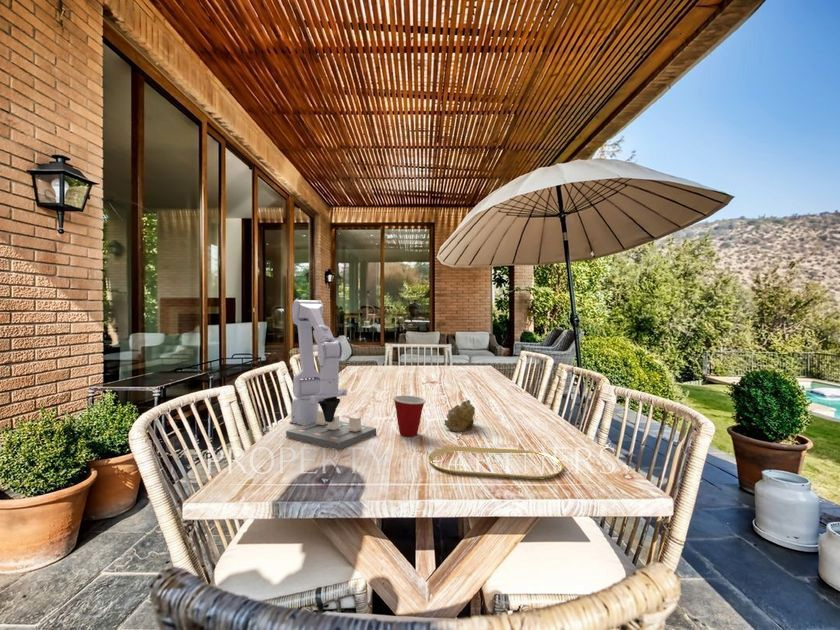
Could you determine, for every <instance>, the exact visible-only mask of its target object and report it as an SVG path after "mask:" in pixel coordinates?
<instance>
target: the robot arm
mask: <svg viewBox="0 0 840 630" xmlns="http://www.w3.org/2000/svg"><path fill="white" fill-rule="evenodd" d="M323 313H324V304H323V302H322V301H321V300H320V299H317V300H309V299H305V300H304V299H294V301H293V302H292V307H291V314H292V315H291V316H292V317H291V318H292V323H293V324H294V325H296V327H297V332H298V346H299V348H298V349H299V362H300V371H299V372H297V373H296V374H295V375H294V376H293V379H292V381H293V384H292V392H293V397H294V398H293V399H292V401H291V405H290V409H291V410H290V411H291V412H290V420H289V421H290V422H293V423H292V424H295V423H297V424H296V425H300V424H301V425H300V426H304V425H307V424H310V423H314V422H316V421H317V411H320V410H319V408H320V409H321V410H322V411H323V414H324V418H325V422H333V418H334V415H336V414H335V413H336V412H337V411H336V410H337V408H338V406H339V404H340V403H341V398H339V397H345V396H347V393H348V390H347V389H344V388H341V389H339V380H340V379H339V378H340V377H339V372H340V371H339V369H340V368H339V367H340V366H339V365H340V364H339V362H340V359H341V358H342V356H343V355H342V354H343V347H342V344H341V343H342V342H341V341H340V340H338V339H336V338H335V337H334V336H333V332H332V330H331V328H330V327H329V326H327V325H325V322H324V319H323V315H324V314H323ZM312 328H313V329H314V330H313V329H312ZM313 339H314V340H315V342H316V344H317V356H318V364H319V365H320V369H319V370H320V371H317V370H316V368H315V358H314V357H315V356H314V343H313ZM319 406H320V407H319ZM290 422H289V423H290Z"/></svg>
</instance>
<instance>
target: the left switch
mask: <svg viewBox="0 0 840 630" xmlns="http://www.w3.org/2000/svg"><path fill="white" fill-rule="evenodd" d="M316 424H320V425H325V424H328V422H325V418H324V414H323V411H322V409H320V410H319V411H317V421H316Z"/></svg>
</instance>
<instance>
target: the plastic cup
mask: <svg viewBox="0 0 840 630" xmlns="http://www.w3.org/2000/svg"><path fill="white" fill-rule="evenodd" d="M426 401H427V400H426V399H425V398H423V397H419V396H416V395H415V396H414V395H395V396H394V397H393V402H394V406H395V411H396V418H397V419H396V420H397V425H398V431H399V435H400V436H401V437H407V438H408V437H410V438H411V437H416V436H418V433H419V427H420V424H421V418H422V414H423V413H422V411H423V409H424V405H425V403H426Z"/></svg>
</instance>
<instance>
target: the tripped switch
mask: <svg viewBox="0 0 840 630" xmlns="http://www.w3.org/2000/svg"><path fill="white" fill-rule="evenodd" d="M339 421H340V415H336V414H334V418H333V422H328V426H326V429H331V430H335V429H338V428H341V425H339Z"/></svg>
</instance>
